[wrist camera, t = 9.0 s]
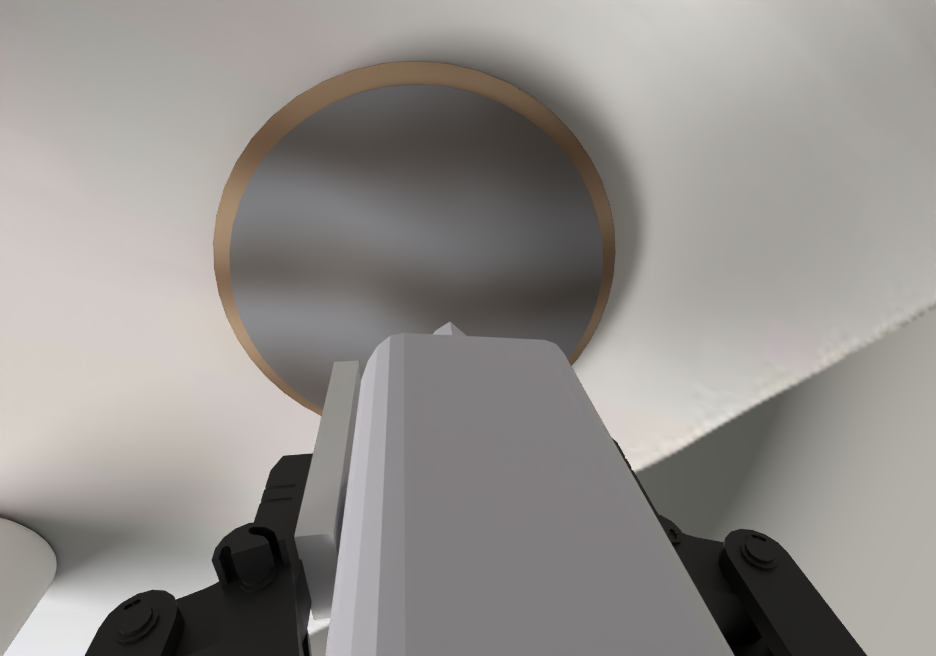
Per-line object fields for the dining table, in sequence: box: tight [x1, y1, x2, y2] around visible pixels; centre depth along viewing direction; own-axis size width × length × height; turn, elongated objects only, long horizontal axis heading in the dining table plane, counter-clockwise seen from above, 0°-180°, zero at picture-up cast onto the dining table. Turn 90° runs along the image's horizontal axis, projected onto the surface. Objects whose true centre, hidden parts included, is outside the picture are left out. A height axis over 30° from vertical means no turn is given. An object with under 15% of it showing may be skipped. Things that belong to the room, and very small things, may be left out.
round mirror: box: [213, 61, 615, 416], centre depth 24 cm, size 19×19×2 cm
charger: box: [325, 322, 734, 656], centre depth 11 cm, size 5×9×15 cm, turn 173°
